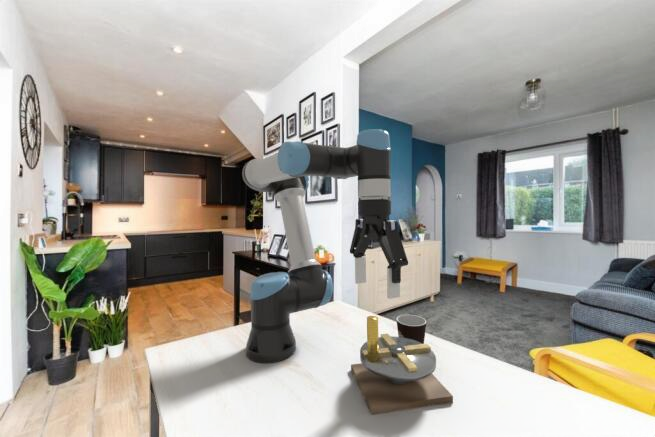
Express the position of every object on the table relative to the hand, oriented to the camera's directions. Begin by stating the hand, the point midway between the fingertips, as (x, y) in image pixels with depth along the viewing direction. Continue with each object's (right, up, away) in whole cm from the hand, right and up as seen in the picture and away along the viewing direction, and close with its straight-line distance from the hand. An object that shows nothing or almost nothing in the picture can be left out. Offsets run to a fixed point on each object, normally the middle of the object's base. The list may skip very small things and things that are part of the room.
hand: (375, 289), depth 67 cm
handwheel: (+6, -18, +3) cm, 19 cm away
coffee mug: (+14, -24, +20) cm, 34 cm away
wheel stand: (+6, -24, +3) cm, 25 cm away
